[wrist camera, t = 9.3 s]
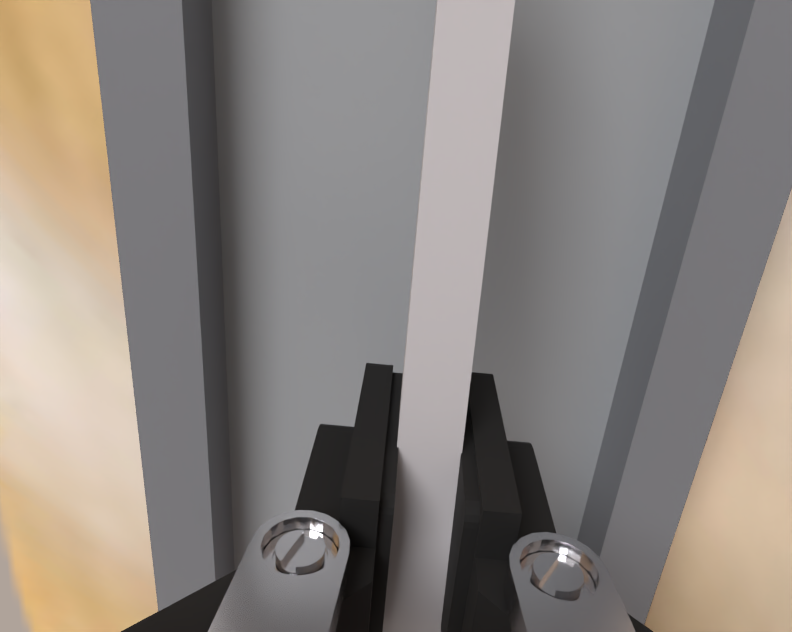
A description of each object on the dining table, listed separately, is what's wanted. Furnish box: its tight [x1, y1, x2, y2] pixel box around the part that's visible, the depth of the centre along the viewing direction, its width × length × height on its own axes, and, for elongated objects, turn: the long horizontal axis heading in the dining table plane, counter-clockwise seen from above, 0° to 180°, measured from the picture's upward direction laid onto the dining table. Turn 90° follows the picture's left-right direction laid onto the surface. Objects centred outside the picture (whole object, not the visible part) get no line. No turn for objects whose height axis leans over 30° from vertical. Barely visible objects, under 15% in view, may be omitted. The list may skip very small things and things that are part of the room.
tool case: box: [90, 0, 792, 625], centre depth 14 cm, size 12×27×2 cm, turn 176°
